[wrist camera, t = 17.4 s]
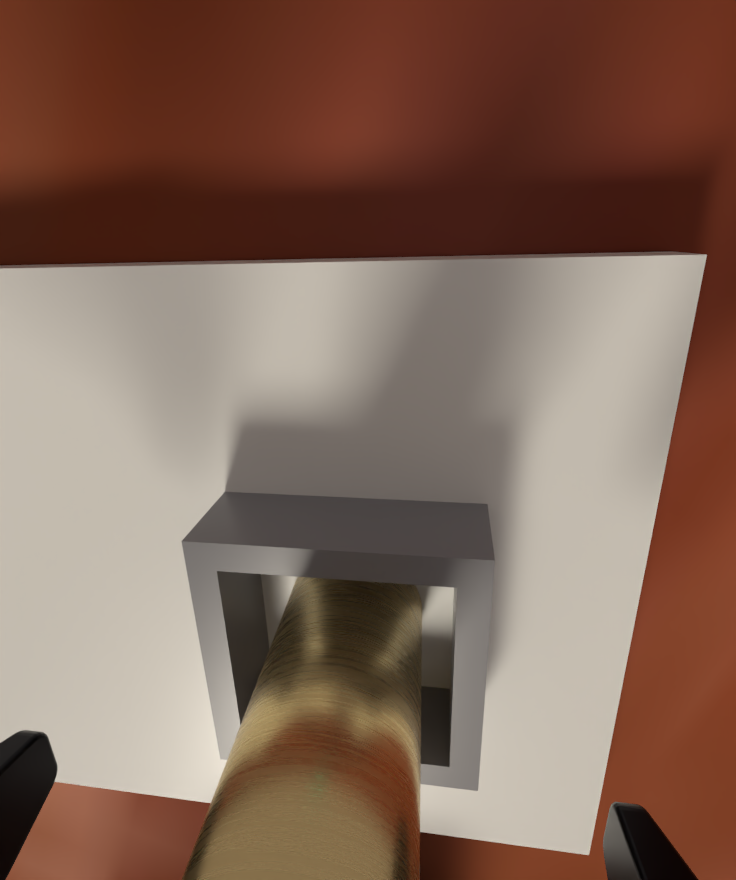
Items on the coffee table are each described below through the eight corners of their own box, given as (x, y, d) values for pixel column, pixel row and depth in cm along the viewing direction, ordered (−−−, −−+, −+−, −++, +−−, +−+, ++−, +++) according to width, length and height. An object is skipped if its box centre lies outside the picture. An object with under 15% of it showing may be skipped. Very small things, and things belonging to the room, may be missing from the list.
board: (-29, 724, 18) (-132, 830, 15) (-214, 269, 13) (-437, 282, 10) (576, 799, 15) (609, 949, 12) (671, 251, 10) (778, 260, 7)
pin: (297, 656, 13) (116, 1246, 5) (284, 549, 12) (36, 1095, 4) (422, 662, 12) (418, 1299, 5) (421, 551, 11) (414, 1148, 4)
